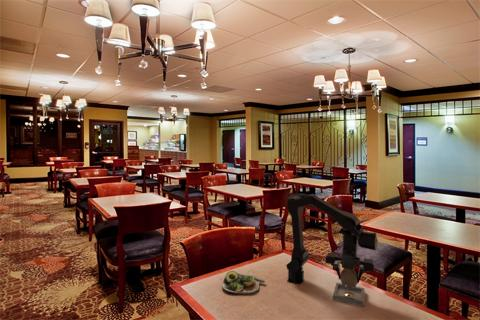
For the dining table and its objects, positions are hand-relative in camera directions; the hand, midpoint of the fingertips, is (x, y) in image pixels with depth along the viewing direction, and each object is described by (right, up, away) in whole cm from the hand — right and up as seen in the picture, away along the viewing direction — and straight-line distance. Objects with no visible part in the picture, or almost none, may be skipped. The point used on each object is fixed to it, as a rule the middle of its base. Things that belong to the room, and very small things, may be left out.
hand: (348, 281), depth 120 cm
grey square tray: (0, -7, 0) cm, 7 cm away
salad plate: (-46, -7, +10) cm, 48 cm away
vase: (0, -3, 0) cm, 3 cm away
